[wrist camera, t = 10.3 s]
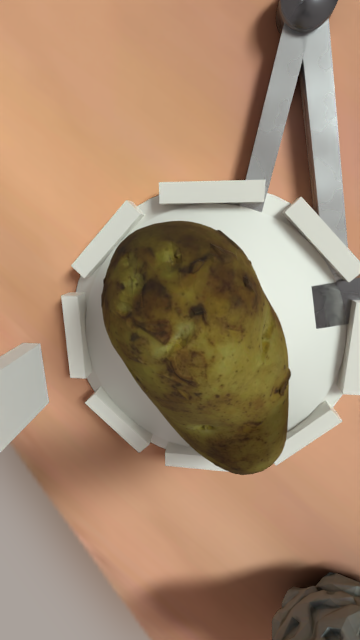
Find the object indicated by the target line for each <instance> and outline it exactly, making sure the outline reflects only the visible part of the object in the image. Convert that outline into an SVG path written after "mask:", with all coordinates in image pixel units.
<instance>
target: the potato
mask: <svg viewBox="0 0 360 640" xmlns="http://www.w3.org/2000/svg"><path fill="white" fill-rule="evenodd" d="M103 283H104V286H103V291H102V294H101V307H102V313H103V320H104V325H105V328H106V331H107V334H108V336H109V339H110V341H111V343H112V345H113V347H114V349H115V350H116V352H117V353H118V354H119V356H120V357H121V359H122V360H123V362H124V363H125V365H126V367H127V368H128V370H129V372H130V373H131V375H132V376H133V378H134V379H135V381H136V382H137V384H138V385H139V386H140V388H141V389H142V390H143V392H144V393H145V394H146V395H147V396H148V398H149V399H150V400H151V401H152V403H153V404H154V405H155V406H156V407H157V408H158V410H159V411H160V412H161V414H162V415H163V416H164V418H165V419H166V420H167V421H168V422H169V424H170V425H171V426H172V427H173V428H174V429H175V431H176V432H177V433H178V434H179V435H180V436H181V437H182V438H183V439H184V440H185V441H186V442H187V443H188V444H189V445H190V446H191V447H192V448H193V449H194V450H195V451H196V452H197V453H199V454H200V455H201V456H203V457H204V458H206V459H207V460H209V461H210V462H211V463H213V464H214V465H216V466H218V467H220V468H222V469H224V470H226V471H229V472H231V473H235V474H240V475H246V474H254V473H257V472H261V471H263V470H265V469H266V468H268V467H270V466H271V465H272V464H273V463H274V462H275V461H276V460H277V459H278V458H279V456H280V455H281V453H282V451H283V449H284V446H285V442H286V437H287V429H288V410H289V379H290V377H291V371H290V369H289V365H288V351H287V345H286V340H285V336H284V333H283V329H282V326H281V323H280V321H279V318H278V316H277V314H276V312H275V311H274V309H273V307H272V306H271V304H270V302H269V300H268V298H267V297H266V295H265V293H264V291H263V289H262V287H261V285H260V282H259V280H258V277H257V275H256V273H255V270H254V268H253V266H252V263H251V261H250V260H249V259H248V257H247V256H246V254H245V253H244V252H243V250H242V249H241V248H240V247H239V246H238V245H237V244H236V243H235V242H234V241H233V240H231V239H230V238H229V237H228V236H226V235H225V234H224V233H223V232H222V231H220V230H215V229H213V228H211V227H208V226H205V225H202V224H199V223H195V222H189V221H168V222H162V223H156V224H152V225H149V226H146V227H143V228H140V229H138V230H136V231H134V232H133V233H131V234H130V235H128V236H127V237H126V238H125V239H124V240H123V241H122V242H121V243H120V244H119V245H118V247H117V248H116V250H115V252H114V254H113V256H112V258H111V261H110V264H109V267H108V269H107V272H106V276H105V278H104V279H103Z"/></svg>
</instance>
